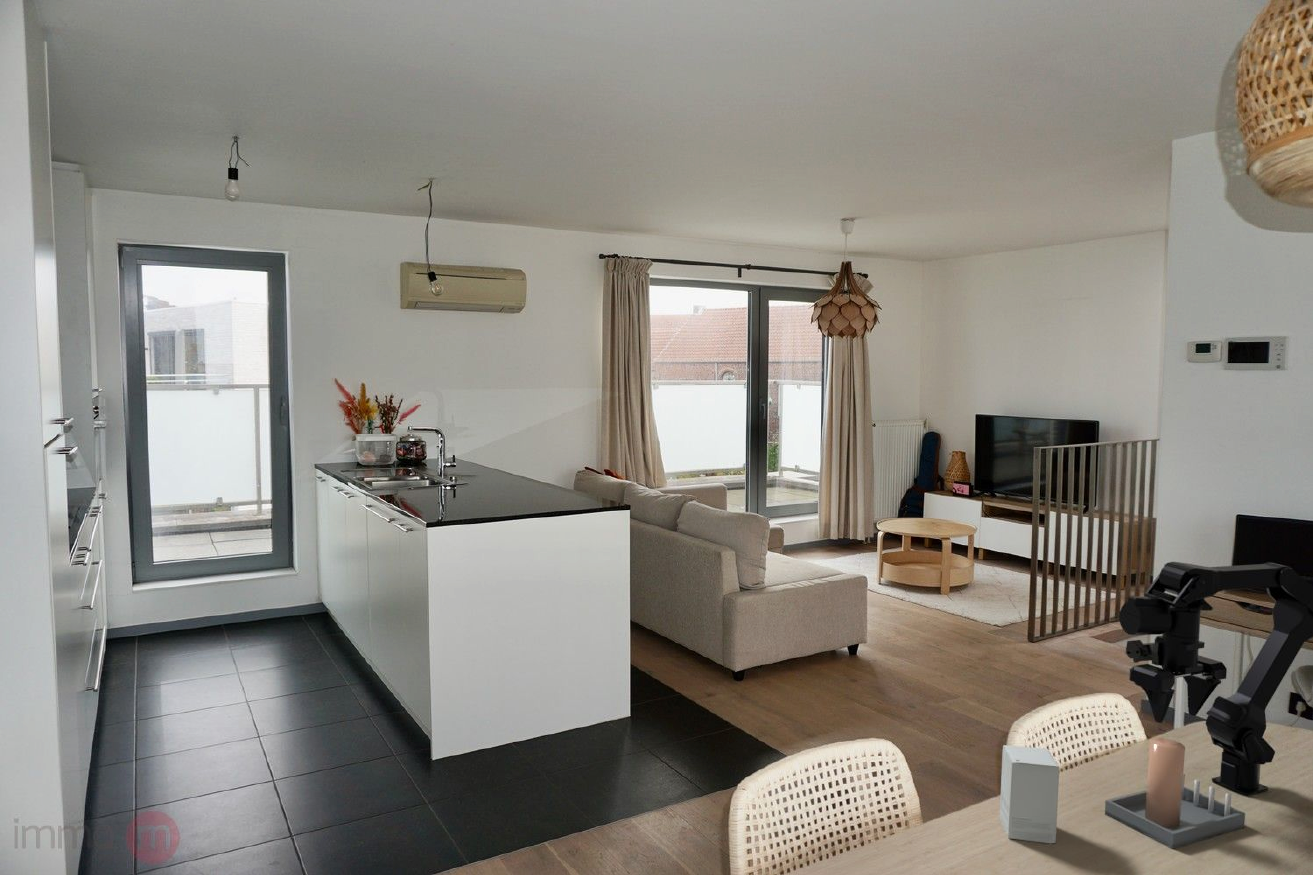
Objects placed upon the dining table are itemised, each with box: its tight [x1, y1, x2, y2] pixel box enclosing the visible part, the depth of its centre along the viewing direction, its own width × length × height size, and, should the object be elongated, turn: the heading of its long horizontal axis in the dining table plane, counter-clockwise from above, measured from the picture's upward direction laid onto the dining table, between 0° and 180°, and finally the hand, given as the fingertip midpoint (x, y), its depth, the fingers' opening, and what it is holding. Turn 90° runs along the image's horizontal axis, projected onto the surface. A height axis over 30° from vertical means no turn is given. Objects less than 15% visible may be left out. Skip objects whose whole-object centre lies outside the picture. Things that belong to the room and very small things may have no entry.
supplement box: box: [999, 744, 1060, 844], centre depth 141 cm, size 7×7×13 cm
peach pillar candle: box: [1145, 737, 1186, 828], centre depth 144 cm, size 5×5×13 cm
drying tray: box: [1104, 773, 1246, 850], centre depth 145 cm, size 18×12×5 cm, turn 114°
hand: (1175, 718), depth 156 cm, fingers open, 9 cm apart
